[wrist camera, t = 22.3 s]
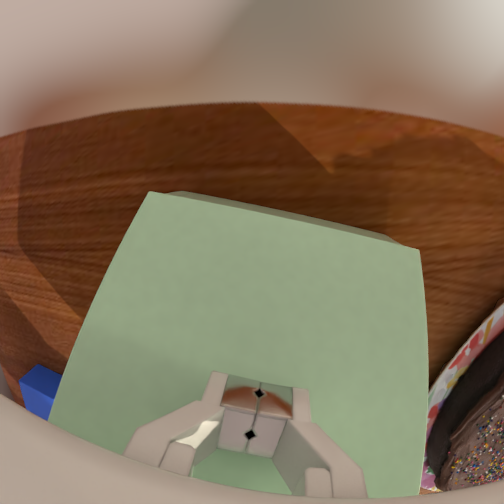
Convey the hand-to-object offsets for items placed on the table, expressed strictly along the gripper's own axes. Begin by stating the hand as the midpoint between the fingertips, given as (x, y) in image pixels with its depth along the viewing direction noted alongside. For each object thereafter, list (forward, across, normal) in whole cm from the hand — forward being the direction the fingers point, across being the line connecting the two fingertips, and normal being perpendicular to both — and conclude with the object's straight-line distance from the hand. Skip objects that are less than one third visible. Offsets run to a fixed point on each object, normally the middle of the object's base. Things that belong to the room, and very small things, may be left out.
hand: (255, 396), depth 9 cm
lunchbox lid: (+1, 0, +1) cm, 2 cm away
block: (+12, +18, +18) cm, 29 cm away
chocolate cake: (+12, -28, +8) cm, 32 cm away
